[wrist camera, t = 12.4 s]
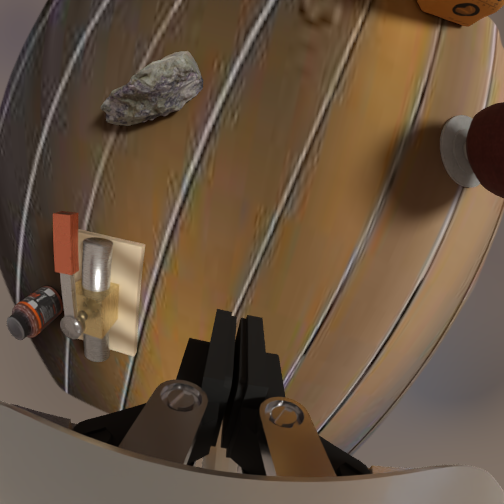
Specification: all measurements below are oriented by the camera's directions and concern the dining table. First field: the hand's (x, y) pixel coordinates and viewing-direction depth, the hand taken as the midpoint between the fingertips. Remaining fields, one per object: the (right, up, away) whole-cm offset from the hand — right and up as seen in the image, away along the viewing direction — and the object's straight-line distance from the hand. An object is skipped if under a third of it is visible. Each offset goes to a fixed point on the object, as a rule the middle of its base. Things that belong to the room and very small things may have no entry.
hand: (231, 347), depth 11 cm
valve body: (-22, -3, +31) cm, 39 cm away
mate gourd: (+36, +21, +27) cm, 50 cm away
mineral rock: (-12, +26, +25) cm, 38 cm away
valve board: (-22, -3, +33) cm, 40 cm away
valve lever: (-21, 0, +21) cm, 30 cm away
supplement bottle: (-35, -5, +33) cm, 48 cm away
